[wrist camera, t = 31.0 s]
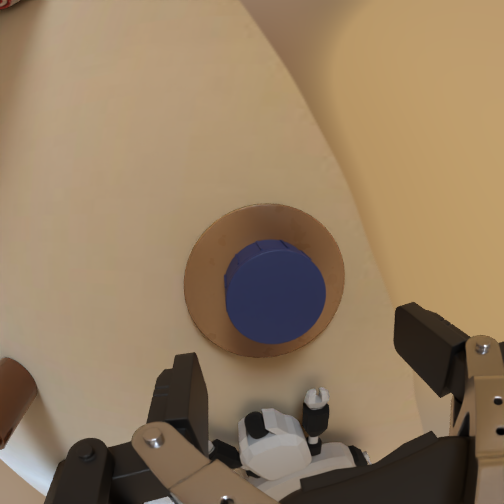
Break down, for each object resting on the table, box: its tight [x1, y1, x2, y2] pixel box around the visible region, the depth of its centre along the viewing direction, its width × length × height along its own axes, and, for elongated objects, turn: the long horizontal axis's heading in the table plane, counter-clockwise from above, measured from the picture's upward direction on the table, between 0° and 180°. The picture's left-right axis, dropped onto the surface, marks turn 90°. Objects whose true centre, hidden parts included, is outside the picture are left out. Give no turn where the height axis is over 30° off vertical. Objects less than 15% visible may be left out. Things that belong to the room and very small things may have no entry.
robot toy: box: [208, 387, 371, 501], centre depth 21 cm, size 12×4×15 cm
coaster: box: [184, 203, 345, 358], centre depth 19 cm, size 10×10×1 cm
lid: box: [224, 239, 326, 344], centre depth 17 cm, size 5×5×3 cm
